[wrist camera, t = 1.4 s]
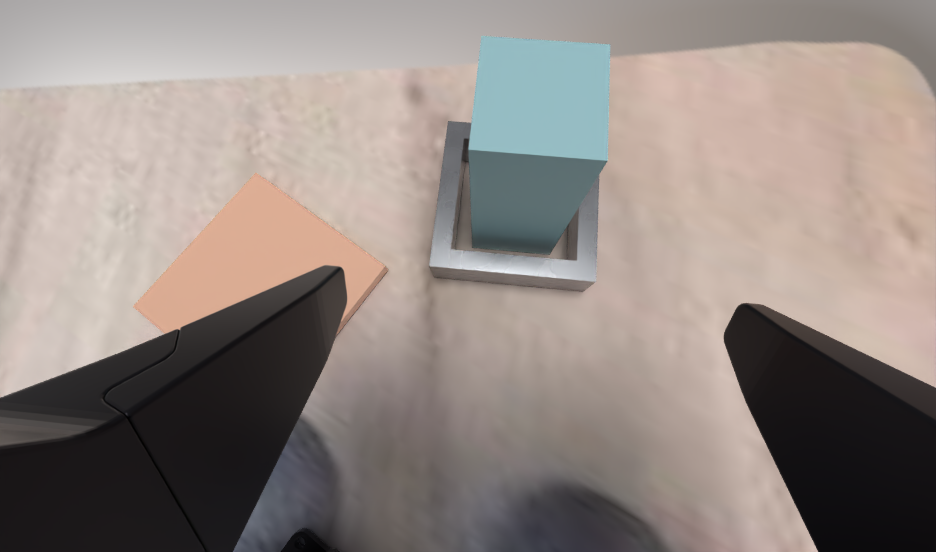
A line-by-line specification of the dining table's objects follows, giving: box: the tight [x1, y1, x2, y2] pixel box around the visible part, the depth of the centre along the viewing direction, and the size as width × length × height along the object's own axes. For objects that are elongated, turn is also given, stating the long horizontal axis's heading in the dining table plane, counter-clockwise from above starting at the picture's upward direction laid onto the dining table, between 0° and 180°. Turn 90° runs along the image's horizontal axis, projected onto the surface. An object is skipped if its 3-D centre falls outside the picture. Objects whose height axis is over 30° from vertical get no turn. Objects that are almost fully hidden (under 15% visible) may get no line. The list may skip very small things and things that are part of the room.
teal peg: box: [469, 36, 610, 255], centre depth 18 cm, size 4×4×10 cm
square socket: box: [429, 121, 599, 291], centre depth 22 cm, size 8×8×2 cm
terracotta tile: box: [133, 173, 388, 335], centre depth 22 cm, size 10×10×1 cm
